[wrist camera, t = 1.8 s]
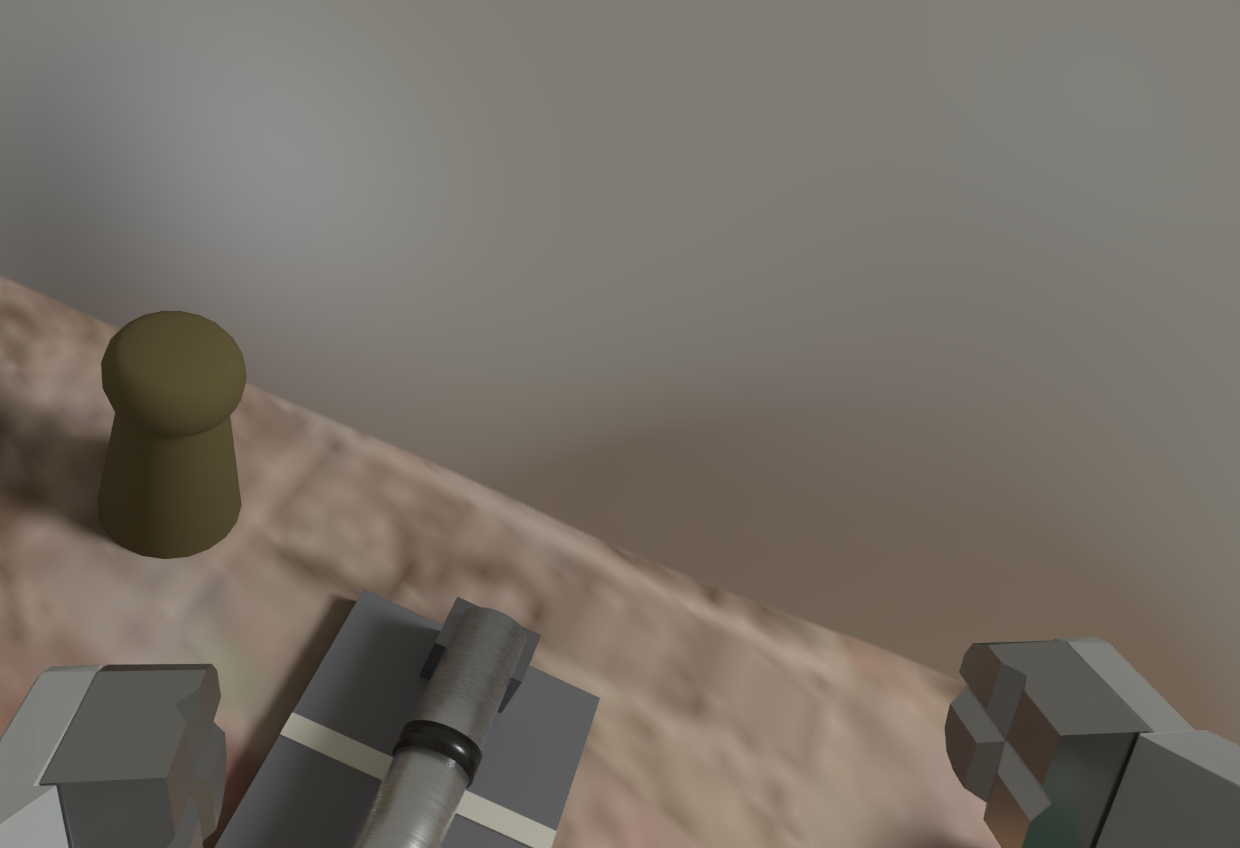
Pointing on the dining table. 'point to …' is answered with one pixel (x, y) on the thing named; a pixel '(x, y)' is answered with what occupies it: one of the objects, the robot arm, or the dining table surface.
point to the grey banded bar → (448, 727)
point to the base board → (369, 728)
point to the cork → (171, 435)
